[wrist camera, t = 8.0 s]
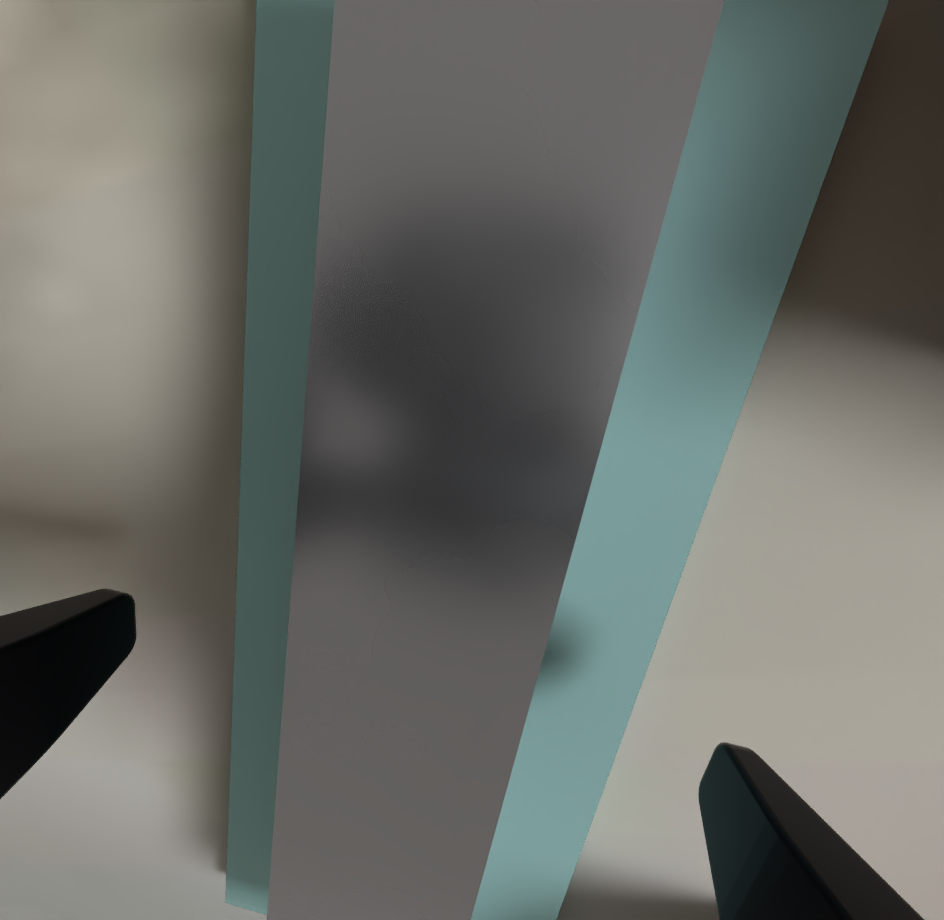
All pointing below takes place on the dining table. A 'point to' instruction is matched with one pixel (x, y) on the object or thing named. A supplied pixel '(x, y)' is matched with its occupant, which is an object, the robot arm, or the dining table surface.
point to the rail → (457, 412)
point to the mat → (628, 430)
